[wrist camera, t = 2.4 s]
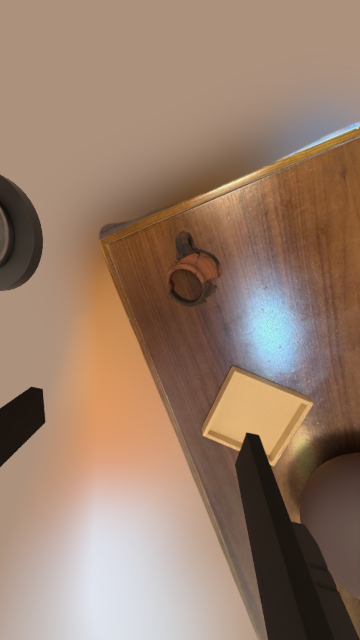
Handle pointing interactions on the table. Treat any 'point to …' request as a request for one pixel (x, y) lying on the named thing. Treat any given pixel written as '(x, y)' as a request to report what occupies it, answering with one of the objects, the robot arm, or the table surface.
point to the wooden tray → (255, 413)
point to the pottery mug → (193, 268)
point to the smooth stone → (336, 517)
